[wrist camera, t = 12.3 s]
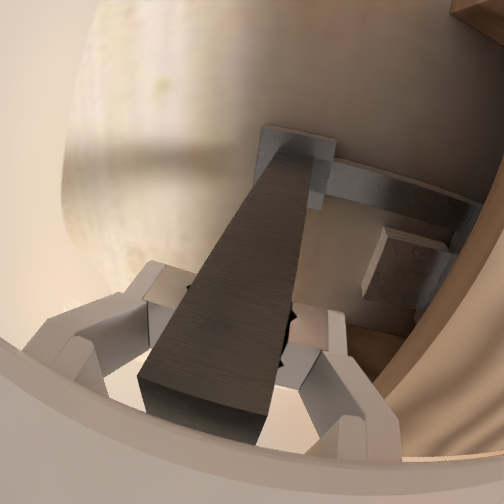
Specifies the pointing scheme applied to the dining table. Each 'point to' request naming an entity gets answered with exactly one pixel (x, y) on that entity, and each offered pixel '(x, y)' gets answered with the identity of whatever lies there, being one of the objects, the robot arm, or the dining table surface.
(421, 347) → the low cabinet
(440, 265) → the block
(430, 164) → the dining table surface
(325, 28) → the dining table surface
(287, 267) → the hook tool
